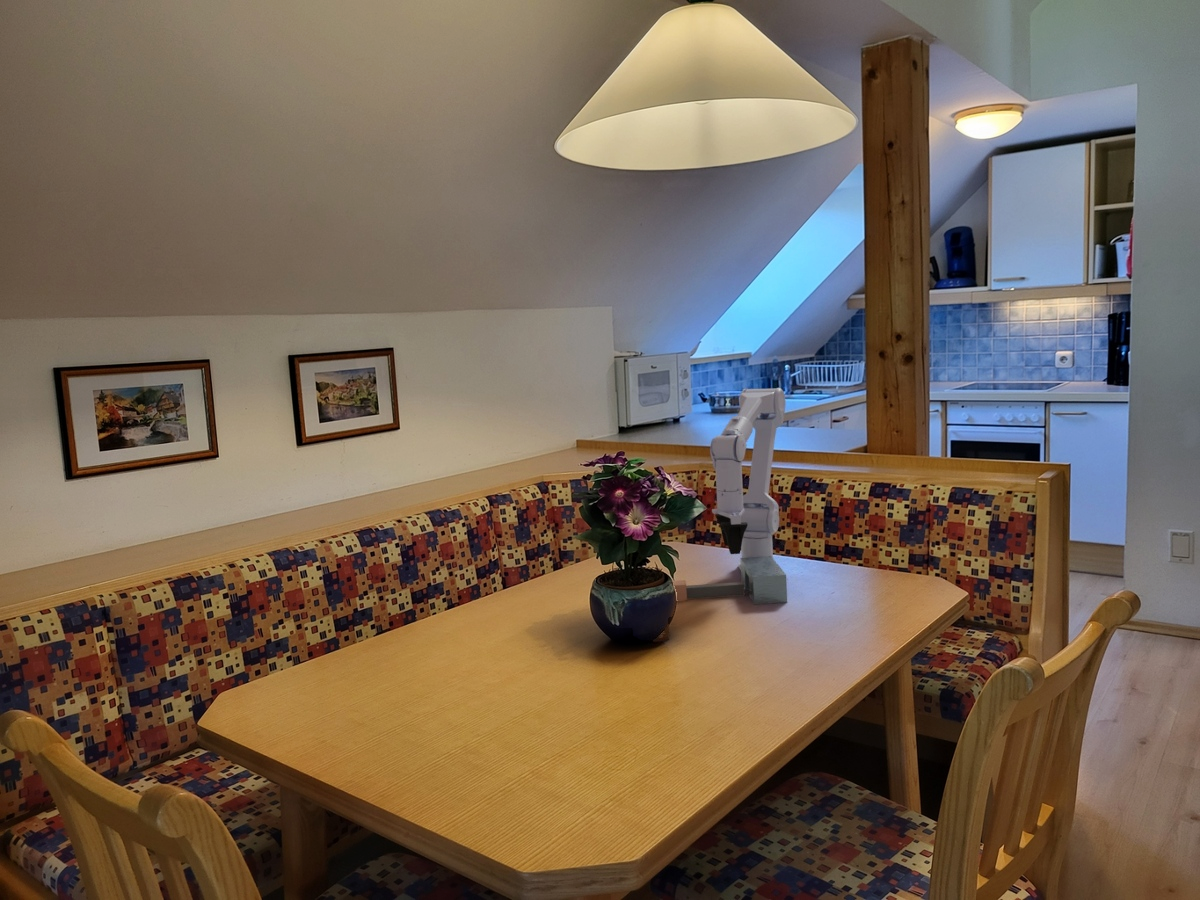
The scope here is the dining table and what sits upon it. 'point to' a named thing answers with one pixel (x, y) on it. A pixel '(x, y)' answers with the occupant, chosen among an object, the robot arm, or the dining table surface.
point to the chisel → (707, 590)
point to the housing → (764, 580)
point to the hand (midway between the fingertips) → (732, 549)
